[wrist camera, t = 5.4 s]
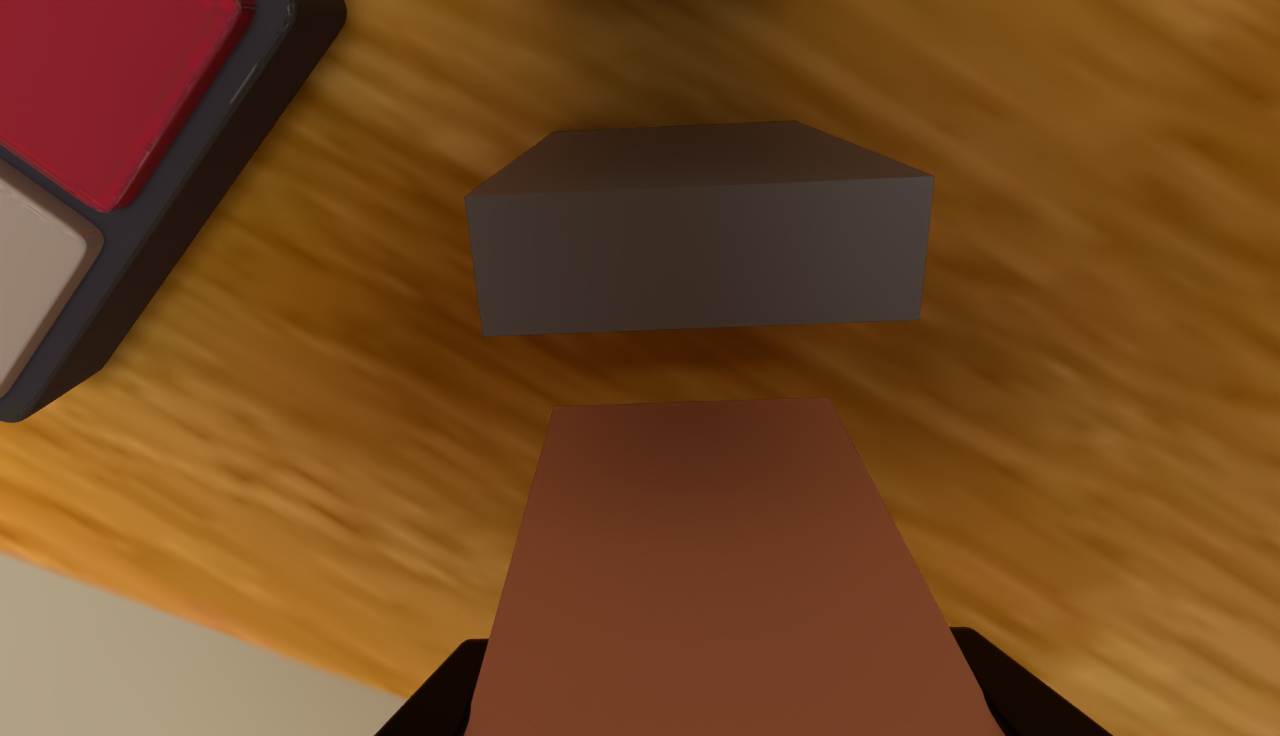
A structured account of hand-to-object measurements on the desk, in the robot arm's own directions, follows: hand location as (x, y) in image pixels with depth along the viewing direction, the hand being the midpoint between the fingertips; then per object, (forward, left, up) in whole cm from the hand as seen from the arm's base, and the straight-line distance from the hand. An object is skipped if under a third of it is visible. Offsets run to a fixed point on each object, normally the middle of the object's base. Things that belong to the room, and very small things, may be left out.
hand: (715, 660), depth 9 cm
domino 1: (0, -4, -9) cm, 10 cm away
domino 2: (0, 0, -6) cm, 6 cm away
